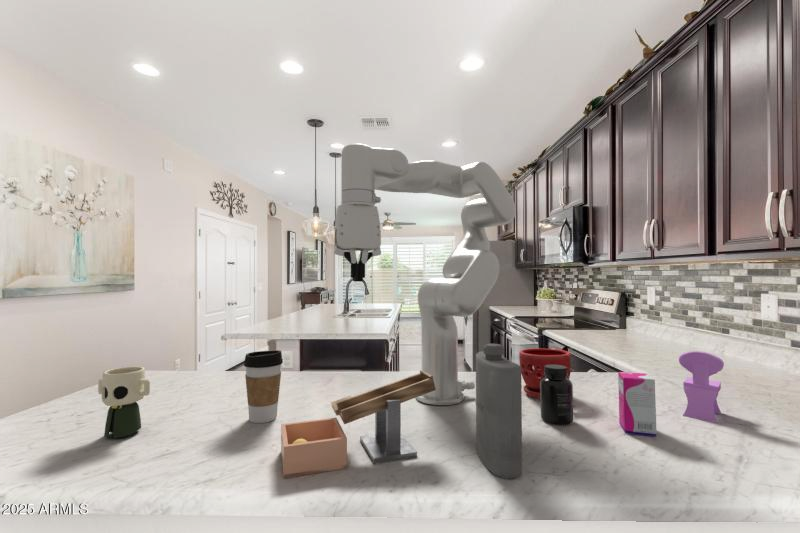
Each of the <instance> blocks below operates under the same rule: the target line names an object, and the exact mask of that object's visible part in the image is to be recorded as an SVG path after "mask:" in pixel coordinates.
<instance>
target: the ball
mask: <svg viewBox="0 0 800 533" xmlns="http://www.w3.org/2000/svg"><path fill="white" fill-rule="evenodd" d="M303 442H307V441H306V440H305V439H297V440H295V441H294V442H293V444H296V443H303Z"/></svg>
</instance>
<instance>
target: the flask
mask: <svg viewBox="0 0 800 533" xmlns="http://www.w3.org/2000/svg"><path fill="white" fill-rule="evenodd" d="M504 350H505V348H504V346H503V345H502V344H500V343H486V344H484V345H483V351H482V350H481V351H478V352H477V353H476V354H475V423H476V424H475V430H476V431H475V442H476V443H475V446H476V448H475V450H476V452H477V455H478V457H479V459H480V460H481V462H482V464H483V465H484V466H485V467H486V468H487V469H488V470H489V472H490V473H492V474H493V475H495V476H496V477H499V478H503V479H509V480H511V479H516V478H519V477H521V476H522V474H523V433H522V432H523V428H522V427H523V424H522V423H523V421H522V420H523V416H522V414H523V413H522V412H523V409H522V408H523V407H522V404H523V403H522V374H521V367H520V364H519V363H515V362H513V361H511V360H509V359H507V358H506V357H505V353H504V352H505V351H504Z"/></svg>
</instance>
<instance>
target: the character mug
mask: <svg viewBox="0 0 800 533" xmlns="http://www.w3.org/2000/svg"><path fill="white" fill-rule="evenodd" d="M145 376H146V370H145V367H143V366H138V365H137V366H125V367H124V366H122V367H115V368H112V369H108V370H105V371H103V373H102V378H100V379H98V383H97V384H98V385H97V387H98V388H97V392H98V394H99V395H101V401H102V403H103V404H104V405H105V406H109V408H108V410H107V415H106V421H105V426H104V434H103V435H104V437H105V438H109V437H110V433H111V434H113V435H112V437H113V438H120V437H121V438H122V437H126V436H130V435H132V434H134V433H136V432H138V431H139V430H141V429H142V419H141V418H142V417H141V412H140V411H141V410H140V405H139V404H138V402H139V401H140V400H142V399H144V397H145V396H149V395H150V393H151V392H150V390H151V382H150V379H147V378H146V377H145Z"/></svg>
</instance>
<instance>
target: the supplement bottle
mask: <svg viewBox="0 0 800 533" xmlns="http://www.w3.org/2000/svg"><path fill="white" fill-rule="evenodd" d="M544 374H545V377H543V378H542V379H541V381H540V399H539V400H540V418H541V419H542V421H544V422H545V423H547V424H551V425H555V426H568V425H572V424H573V422H574V389H573V387H574V386H573V382H572V381H571V379H570V378H569V379H568V378H567V376H568V373H567V367H566V366H562V365H545V366H544Z"/></svg>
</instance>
